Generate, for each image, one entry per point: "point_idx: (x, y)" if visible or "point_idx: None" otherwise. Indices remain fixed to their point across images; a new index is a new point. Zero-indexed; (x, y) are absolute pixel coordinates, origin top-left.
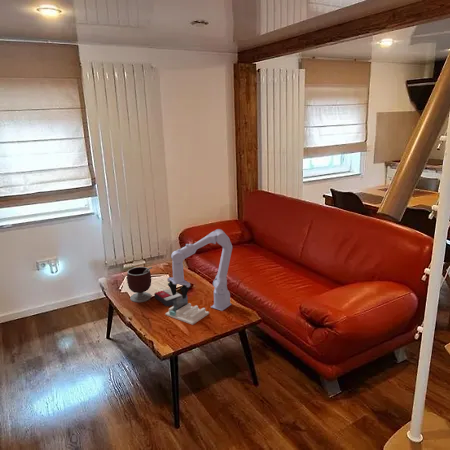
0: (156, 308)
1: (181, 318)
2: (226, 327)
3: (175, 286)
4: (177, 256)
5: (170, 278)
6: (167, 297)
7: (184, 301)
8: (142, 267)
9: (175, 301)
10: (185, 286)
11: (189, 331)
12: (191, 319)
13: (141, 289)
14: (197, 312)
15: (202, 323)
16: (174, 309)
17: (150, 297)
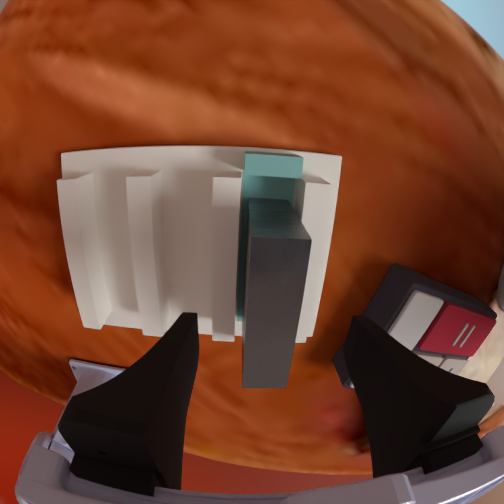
0: (439, 208)
1: (164, 153)
2: None
3: (375, 426)
4: None
5: (482, 491)
6: (426, 322)
7: (243, 325)
8: None
9: (268, 236)
10: (87, 468)
11: (43, 82)
12: (78, 174)
13: None
14: (74, 255)
15: (39, 203)
16: (280, 207)
17: (500, 289)
